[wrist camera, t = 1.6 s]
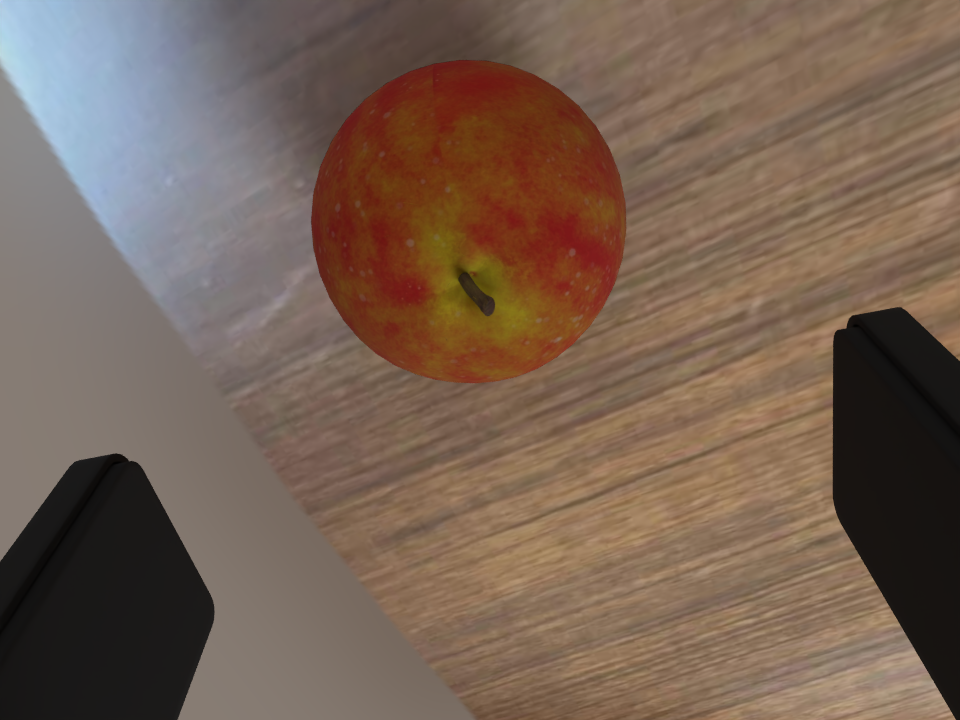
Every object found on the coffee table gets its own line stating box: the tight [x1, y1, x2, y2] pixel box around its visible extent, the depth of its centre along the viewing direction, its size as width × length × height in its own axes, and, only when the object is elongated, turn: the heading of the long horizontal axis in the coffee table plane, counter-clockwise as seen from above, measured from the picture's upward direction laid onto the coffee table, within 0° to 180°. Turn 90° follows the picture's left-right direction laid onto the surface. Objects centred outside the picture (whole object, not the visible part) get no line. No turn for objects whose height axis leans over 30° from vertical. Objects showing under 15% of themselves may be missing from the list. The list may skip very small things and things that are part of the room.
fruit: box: [311, 60, 626, 383], centre depth 17 cm, size 7×7×8 cm
